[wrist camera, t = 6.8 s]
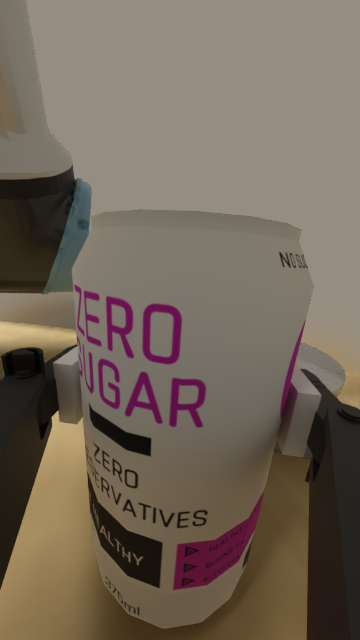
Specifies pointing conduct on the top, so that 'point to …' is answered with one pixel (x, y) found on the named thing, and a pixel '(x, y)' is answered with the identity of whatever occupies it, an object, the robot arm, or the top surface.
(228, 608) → the top surface
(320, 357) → the scale plate
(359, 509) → the robot arm
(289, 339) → the supplement can
